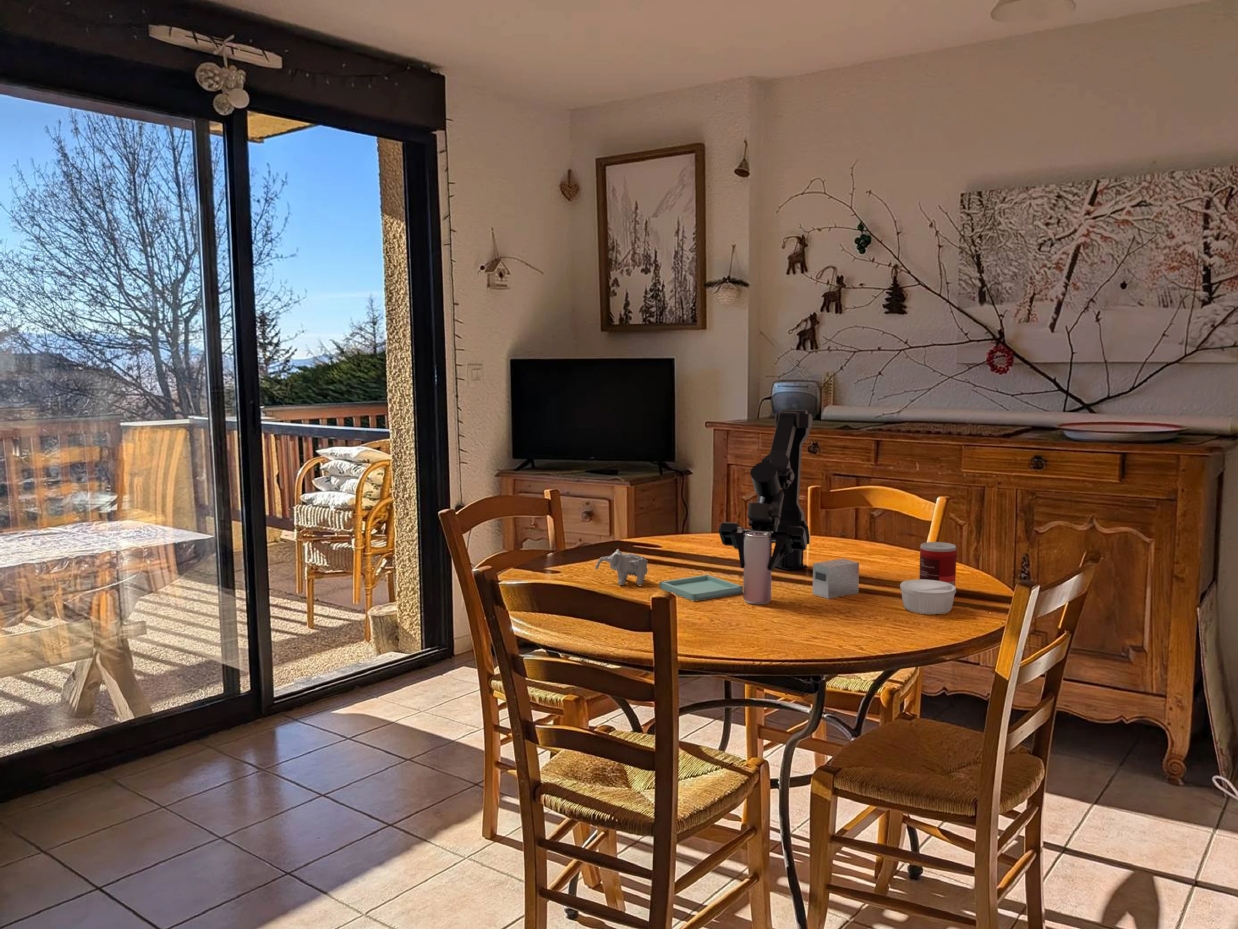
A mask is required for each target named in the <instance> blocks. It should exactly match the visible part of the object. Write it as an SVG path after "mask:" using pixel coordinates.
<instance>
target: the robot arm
mask: <svg viewBox="0 0 1238 929" xmlns="http://www.w3.org/2000/svg"><path fill="white" fill-rule="evenodd" d="M774 414H775V415H774V428H775V430H774V434H773V438H772V443H771V447H770V451H769V453H768V454H767V455H766V456H764V457H763V458H761V461H760V462H759V463H756V464H754V466H753V467H752V468H751V469H750V477H751V481H752V484H753V490H754V493H755V494H756V495H757V498H756V502H749V503H748V505H747V506H748V508H747V516H746V517H747V518H748V526H749V527H750V529H747V528H746V529H745V528H744V527H743V526H740V524H739V522H732V521H731V522H729V521H723V522H721V523H720V524H719V527H718V535H719V536H720V540H721V543H722V545H724V546H730V547H733V548H734V549H735V550H738V558H739V564H740V568H741V569H744V537H745V533H746V532H750V531H764V532H769V533H771V538H772V544H774V548H773V551H772V558H771V561H770V571H771V572H772V571H773V570H774V569H775V567H776V568H779V569H782V570H786V571H791V570H793V571H794V570H798V569H799V570H800V569H806V568H808V565H807V564H804V551H806V550H807V545H810V540H811V539H810V537H811V536H810V530H809V526H808V522H807V520H805V518H806V517H805V513H804V511H803V509H802V507H801V505H800V491H801V488H800V487H801V470H802V456H803V455H802V454H803V453H802V452H803V445H804V443H805V442H806V441H807V439H808V438H809V437H810V431H811V430H810V429H812V427H813V414H812V413H808V410H807V409H782V411H780V412H775V413H774Z"/></svg>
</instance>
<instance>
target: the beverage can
mask: <svg viewBox="0 0 1238 929" xmlns="http://www.w3.org/2000/svg"><path fill="white" fill-rule="evenodd" d="M772 550H773V543H772V538H771V533H769V532H764V531H750V532H746V533H745V537H744V567H743V585H742V586H743V593H742V594H743V600H744V602H745V603H746V604H748V605H749V604H750V605H766V604H769V603H770V602H771V600H772V571H770V561H771V558H772V554H773V551H772Z"/></svg>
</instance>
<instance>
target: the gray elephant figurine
mask: <svg viewBox="0 0 1238 929" xmlns="http://www.w3.org/2000/svg"><path fill="white" fill-rule="evenodd" d="M648 561H649V560H647V558H645V556H641V555H639V554H636V553H631V552H629V553H627V552H622V551H620V549H619V548H616V550H615V551H614V552H613V553H612V554H611V555H607V556H601V557H600V558H599V559H598V560H597V563H596V564H595V570H599V568H600V564H601V563H602V562H608V564H610V566H609V567H610V569H611V570H614V571H616V572H617V578H618V581H617V583H618V585H619V584H620V585H623V586H624V585H625V584H626V580H628V575H629V576H634V577H637V578H636V586H637V585H642V586H643V585H644V580H645V578H646V577H645V576H646V575H647V574H648ZM620 585H619V586H620Z"/></svg>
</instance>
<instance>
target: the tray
mask: <svg viewBox="0 0 1238 929" xmlns="http://www.w3.org/2000/svg"><path fill="white" fill-rule="evenodd" d="M658 582H659V585H658V586H659V588H661V589H662V590H661V589H660V590H661V591H664V590H667V591H666V592H667V593H669V592H673V593H675V594H676V595H675V594H674V595H675V596H677V597H680V598H683V597H684V598H683V599H685V598H687V599H686V600H688V599H690V600H689V601H691V600H693V601H694V602H696V601H695V600H700V601H705V600H704V599H706V600H711V598H712V599H719V598H723V597H730V596H737V595H741V594H743V585H741V584H736V583H734V582H731V581H729V580H725V579H722V578H718V577H715V576H712V575H709V574H703V575H696V576H690V577H683V578H676V579H671V580H669V579H668V580H665V581H664V580H663V581H658ZM678 595H679V596H678ZM681 596H682V597H681ZM693 601H692V602H693Z"/></svg>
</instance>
